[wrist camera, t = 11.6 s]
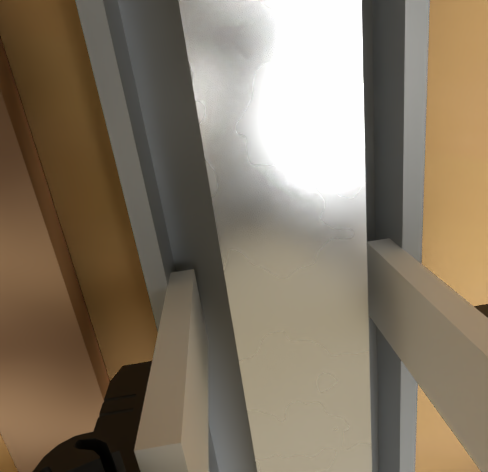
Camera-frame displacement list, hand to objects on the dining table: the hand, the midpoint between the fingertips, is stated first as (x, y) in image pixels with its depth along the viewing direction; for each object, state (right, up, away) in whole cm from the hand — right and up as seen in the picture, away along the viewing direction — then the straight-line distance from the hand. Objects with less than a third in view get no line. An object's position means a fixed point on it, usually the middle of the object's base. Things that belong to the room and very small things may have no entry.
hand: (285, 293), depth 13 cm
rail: (0, 0, +1) cm, 1 cm away
